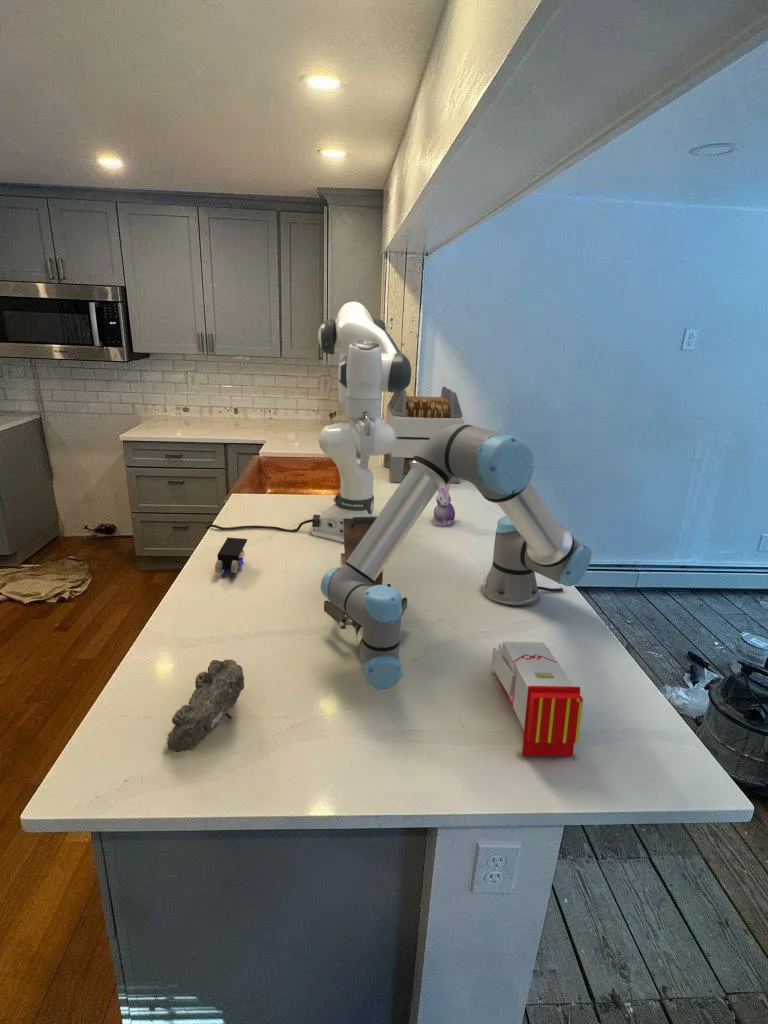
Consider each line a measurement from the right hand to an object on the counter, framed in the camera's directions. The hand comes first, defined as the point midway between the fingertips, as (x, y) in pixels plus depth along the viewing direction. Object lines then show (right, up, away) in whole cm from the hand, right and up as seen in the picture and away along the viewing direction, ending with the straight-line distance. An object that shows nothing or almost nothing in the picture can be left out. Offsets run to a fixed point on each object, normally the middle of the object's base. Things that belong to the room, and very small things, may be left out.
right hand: (362, 589), depth 144 cm
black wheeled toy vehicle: (-39, +3, +23) cm, 46 cm away
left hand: (0, +32, +1) cm, 32 cm away
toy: (+35, -20, -29) cm, 49 cm away
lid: (0, +11, +2) cm, 11 cm away
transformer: (+23, +38, +131) cm, 138 cm away
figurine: (+28, +16, +68) cm, 75 cm away
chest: (-1, -4, +10) cm, 10 cm away
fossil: (-27, -19, -36) cm, 49 cm away
